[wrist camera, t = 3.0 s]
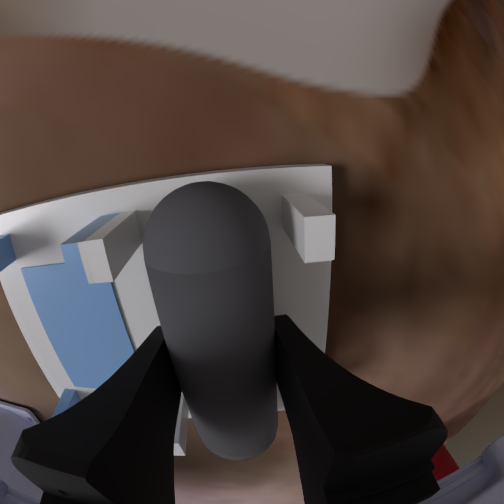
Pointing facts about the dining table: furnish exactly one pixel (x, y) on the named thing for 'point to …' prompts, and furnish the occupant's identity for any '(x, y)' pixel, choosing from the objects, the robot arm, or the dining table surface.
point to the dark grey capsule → (217, 312)
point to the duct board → (135, 275)
